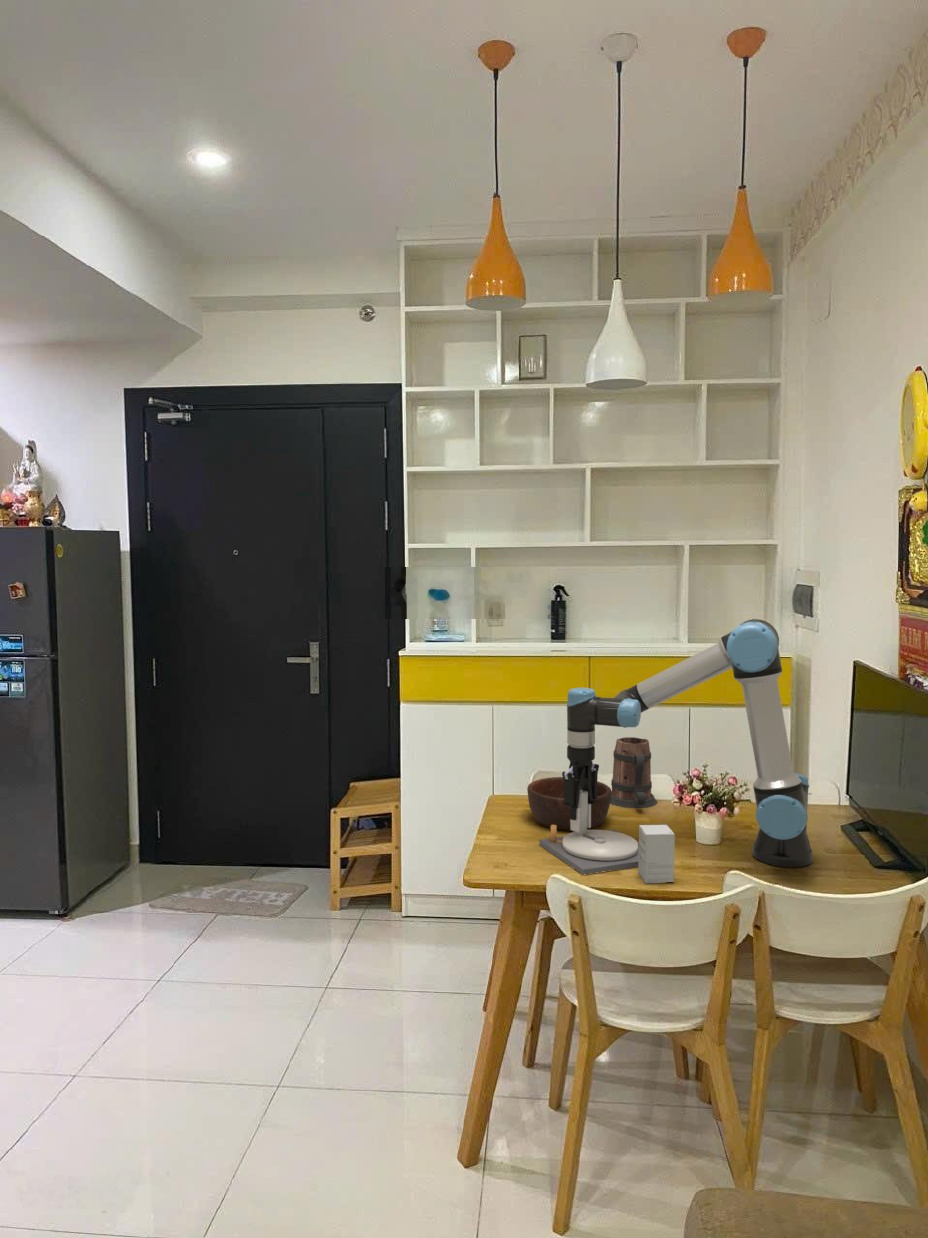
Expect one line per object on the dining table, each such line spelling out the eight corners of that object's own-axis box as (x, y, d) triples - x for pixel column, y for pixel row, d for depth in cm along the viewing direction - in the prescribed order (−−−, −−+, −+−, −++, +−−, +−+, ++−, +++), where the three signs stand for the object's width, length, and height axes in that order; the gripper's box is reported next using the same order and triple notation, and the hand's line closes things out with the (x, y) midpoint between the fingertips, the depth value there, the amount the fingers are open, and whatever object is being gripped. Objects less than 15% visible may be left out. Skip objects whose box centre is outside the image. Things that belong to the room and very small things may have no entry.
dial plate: (663, 863, 231) (664, 840, 231) (583, 875, 222) (583, 852, 222) (614, 834, 253) (614, 814, 253) (539, 845, 244) (539, 823, 244)
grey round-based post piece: (653, 850, 236) (655, 800, 234) (600, 866, 224) (601, 814, 222) (599, 830, 252) (600, 783, 250) (547, 844, 240) (547, 795, 238)
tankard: (600, 793, 295) (601, 734, 293) (650, 793, 296) (652, 734, 294) (614, 815, 272) (615, 751, 270) (668, 815, 272) (670, 751, 271)
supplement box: (666, 872, 225) (667, 824, 224) (674, 884, 217) (675, 833, 216) (637, 872, 224) (638, 824, 223) (644, 884, 217) (645, 833, 216)
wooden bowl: (617, 835, 253) (618, 800, 253) (530, 834, 253) (530, 799, 252) (603, 808, 278) (604, 776, 277) (523, 808, 278) (524, 776, 277)
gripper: (589, 737, 249) (589, 818, 252) (549, 748, 237) (550, 833, 240) (611, 741, 244) (610, 824, 246) (571, 753, 232) (571, 839, 234)
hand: (580, 828), depth 243 cm, fingers open, 4 cm apart
